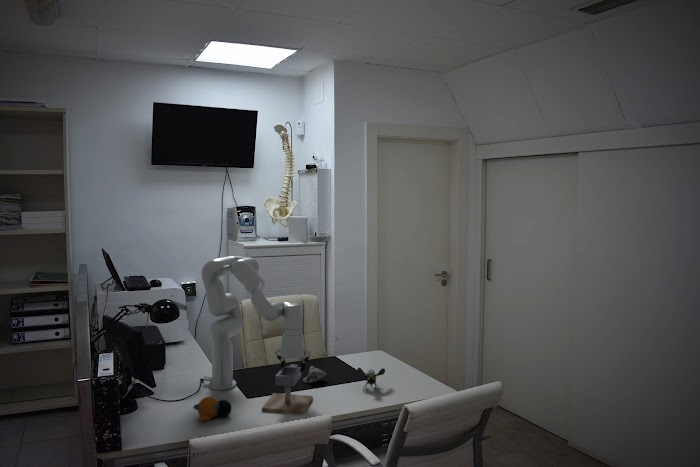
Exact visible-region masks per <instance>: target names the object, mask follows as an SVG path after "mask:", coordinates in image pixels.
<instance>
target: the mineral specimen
mask: <svg viewBox="0 0 700 467" xmlns="http://www.w3.org/2000/svg"><path fill="white" fill-rule="evenodd" d="M326 375H327V372H324V371H323V370H321V369H319V368H317V367H315V366H314V365H311V366H309V369H308V375H307V376H306V377H304V378H302V382H303V383H306V384H312V383H313V382H317V381H319V380H322V379H323V378H324V377H325V376H326Z"/></svg>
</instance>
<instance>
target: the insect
mask: <svg viewBox="0 0 700 467" xmlns="http://www.w3.org/2000/svg"><path fill="white" fill-rule="evenodd" d="M356 372H357V374H359V375H363V376H365V383H366V384H365V385H363V391H362V392H363V393H364V391H365V389H367V387H368V385H370V388H372V387H373V385H374V388H375V389H377V388H378V389H377V391H378V393H379V390H380V389H379V386H378V385H377V377H378V376H383V375H384V374H385V372H386V369H385V368H384V367H382V368H381V369H380V370H379V371H378V372H377V373H376V372H375V370H374V369H372V368H370V369H368V370H367V372H365V371H364V370H363V369H362V368H361V367H358V368H356Z"/></svg>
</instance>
